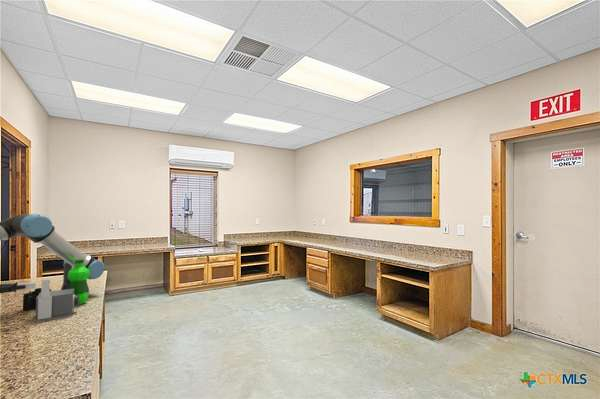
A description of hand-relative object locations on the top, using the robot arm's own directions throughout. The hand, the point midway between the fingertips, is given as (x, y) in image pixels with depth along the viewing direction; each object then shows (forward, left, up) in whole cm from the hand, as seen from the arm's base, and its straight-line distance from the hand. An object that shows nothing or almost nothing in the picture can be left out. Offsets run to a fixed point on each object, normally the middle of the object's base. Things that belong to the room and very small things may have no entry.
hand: (35, 285), depth 145 cm
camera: (-27, -1, -18) cm, 32 cm away
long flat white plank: (0, +4, -16) cm, 17 cm away
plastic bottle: (-23, +15, -18) cm, 33 cm away
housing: (-7, +8, -17) cm, 20 cm away
